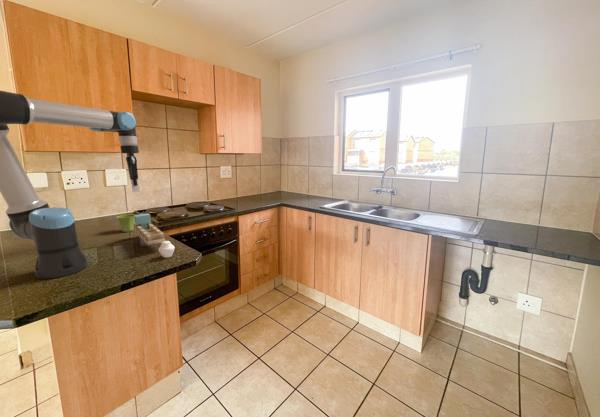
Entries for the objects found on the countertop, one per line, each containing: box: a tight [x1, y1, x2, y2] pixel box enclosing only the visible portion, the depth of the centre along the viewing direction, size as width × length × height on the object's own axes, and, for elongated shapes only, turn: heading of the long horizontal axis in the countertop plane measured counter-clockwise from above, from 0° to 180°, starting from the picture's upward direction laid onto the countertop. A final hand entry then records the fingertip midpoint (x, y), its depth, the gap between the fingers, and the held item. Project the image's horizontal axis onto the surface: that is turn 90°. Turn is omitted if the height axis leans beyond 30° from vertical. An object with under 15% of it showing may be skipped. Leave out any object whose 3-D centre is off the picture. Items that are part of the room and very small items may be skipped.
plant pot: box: [116, 213, 136, 233], centre depth 151 cm, size 9×9×9 cm
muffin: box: [158, 240, 175, 259], centre depth 112 cm, size 6×6×7 cm
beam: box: [133, 222, 166, 248], centre depth 128 cm, size 32×7×8 cm, turn 41°
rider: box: [134, 212, 152, 229], centre depth 134 cm, size 5×6×7 cm
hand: (136, 191), depth 137 cm, fingers closed
